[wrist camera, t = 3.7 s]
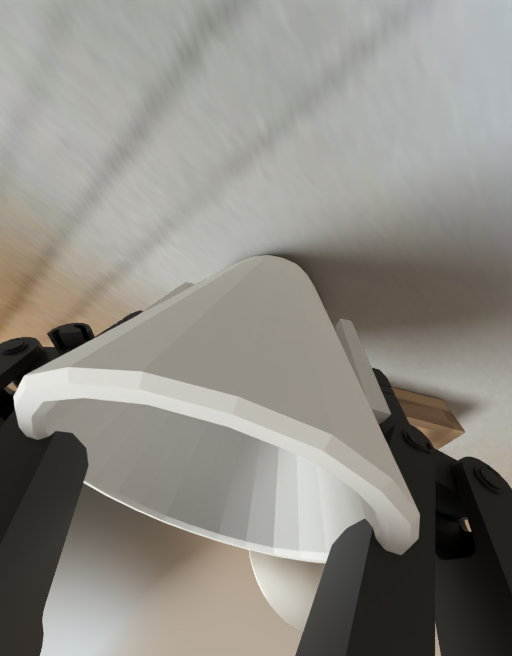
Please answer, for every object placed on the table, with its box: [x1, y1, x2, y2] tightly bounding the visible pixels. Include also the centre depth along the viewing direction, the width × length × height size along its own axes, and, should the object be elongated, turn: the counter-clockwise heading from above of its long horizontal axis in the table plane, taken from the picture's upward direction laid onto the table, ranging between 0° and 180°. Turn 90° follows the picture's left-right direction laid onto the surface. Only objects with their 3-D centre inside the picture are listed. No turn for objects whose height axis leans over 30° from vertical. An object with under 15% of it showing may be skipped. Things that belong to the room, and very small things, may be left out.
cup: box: [13, 255, 420, 564], centre depth 10 cm, size 10×10×13 cm
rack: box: [249, 387, 465, 632], centre depth 19 cm, size 23×15×14 cm
